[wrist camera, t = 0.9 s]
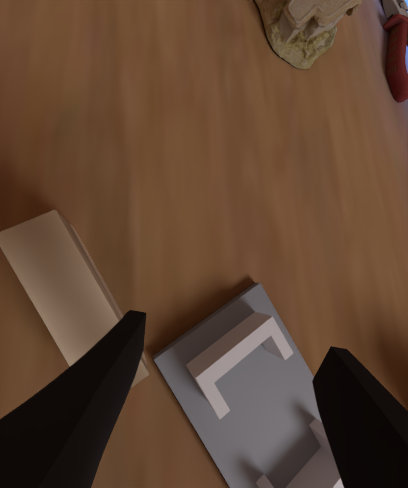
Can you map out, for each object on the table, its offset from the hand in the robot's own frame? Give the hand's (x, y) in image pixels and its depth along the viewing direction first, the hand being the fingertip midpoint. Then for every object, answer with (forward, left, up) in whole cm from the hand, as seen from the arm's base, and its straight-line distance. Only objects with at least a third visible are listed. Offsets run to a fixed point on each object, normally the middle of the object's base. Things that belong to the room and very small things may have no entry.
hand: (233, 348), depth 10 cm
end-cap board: (+3, -13, -14) cm, 19 cm away
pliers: (+52, +14, -14) cm, 55 cm away
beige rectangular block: (-5, +4, -14) cm, 15 cm away
